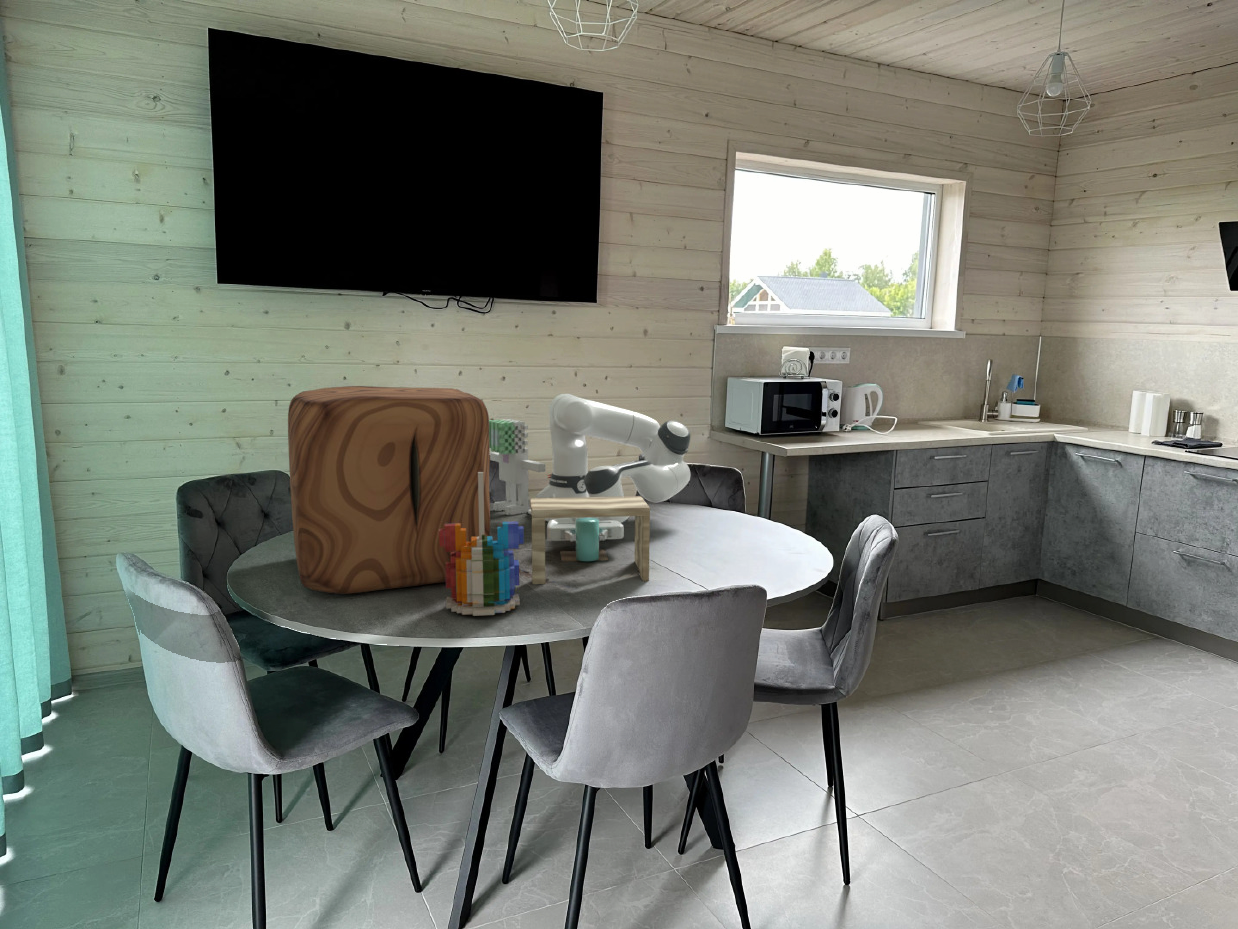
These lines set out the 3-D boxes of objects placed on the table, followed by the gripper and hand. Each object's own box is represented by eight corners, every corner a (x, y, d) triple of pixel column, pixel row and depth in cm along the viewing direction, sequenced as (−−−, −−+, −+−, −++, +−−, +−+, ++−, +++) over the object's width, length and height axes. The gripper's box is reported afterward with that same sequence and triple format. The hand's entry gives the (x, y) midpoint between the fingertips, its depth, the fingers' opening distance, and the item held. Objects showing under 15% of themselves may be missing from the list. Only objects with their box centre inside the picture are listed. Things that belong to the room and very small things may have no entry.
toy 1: (440, 622, 181) (436, 479, 177) (442, 599, 197) (439, 467, 192) (526, 618, 184) (525, 477, 180) (522, 595, 200) (520, 465, 195)
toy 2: (471, 506, 296) (469, 417, 291) (497, 502, 302) (495, 415, 298) (519, 522, 273) (518, 426, 268) (546, 517, 279) (545, 424, 275)
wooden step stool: (530, 568, 222) (530, 498, 219) (640, 564, 225) (641, 496, 223) (532, 584, 208) (531, 510, 205) (648, 580, 212) (649, 507, 209)
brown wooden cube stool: (292, 555, 232) (283, 385, 225) (460, 541, 249) (456, 382, 242) (299, 605, 191) (288, 399, 184) (499, 584, 208) (496, 394, 201)
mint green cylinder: (571, 557, 226) (570, 520, 225) (588, 553, 230) (588, 516, 229) (586, 562, 222) (586, 524, 220) (603, 558, 226) (603, 520, 224)
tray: (559, 554, 235) (559, 551, 235) (604, 553, 236) (604, 550, 236) (562, 564, 225) (562, 561, 225) (608, 563, 226) (608, 559, 226)
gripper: (620, 535, 240) (627, 548, 226) (545, 538, 237) (548, 551, 224) (620, 513, 239) (627, 525, 225) (545, 515, 236) (548, 527, 223)
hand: (587, 538), depth 224 cm, fingers closed on mint green cylinder, 6 cm apart
